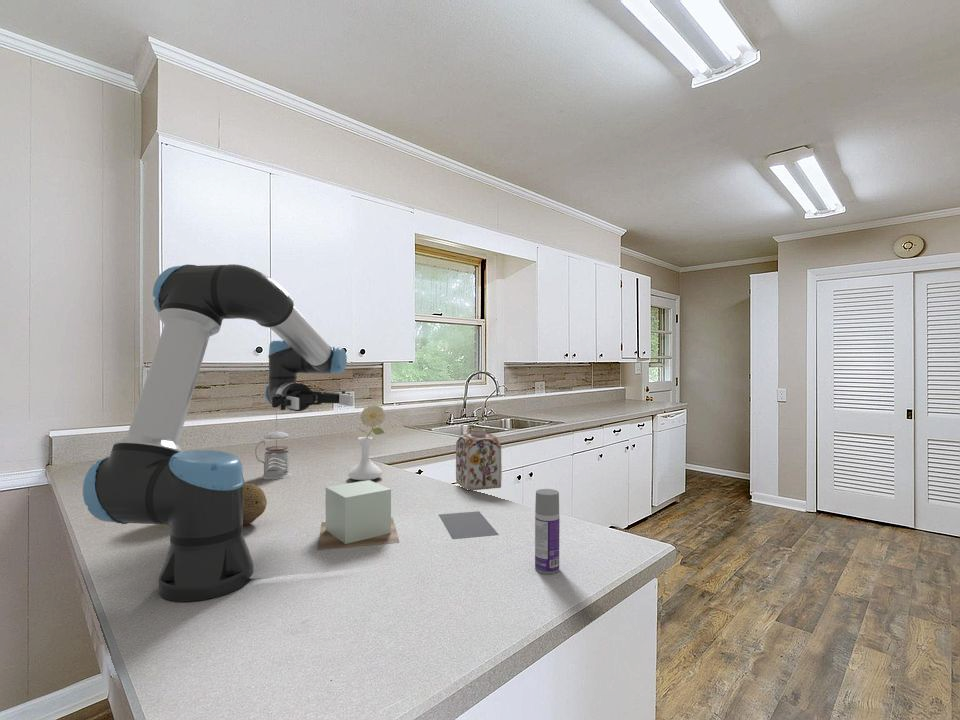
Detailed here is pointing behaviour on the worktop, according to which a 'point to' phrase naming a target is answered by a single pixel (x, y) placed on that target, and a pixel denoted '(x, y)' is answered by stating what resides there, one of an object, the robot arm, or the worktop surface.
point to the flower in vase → (365, 466)
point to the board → (332, 542)
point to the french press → (278, 453)
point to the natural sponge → (252, 503)
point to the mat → (467, 525)
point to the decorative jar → (478, 461)
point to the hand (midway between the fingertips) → (325, 402)
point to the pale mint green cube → (358, 511)
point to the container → (547, 531)
